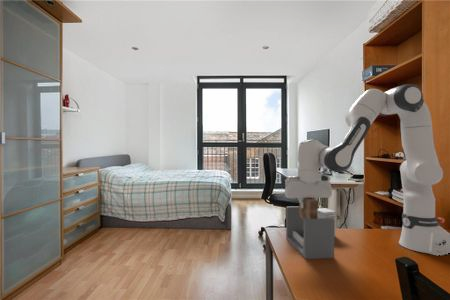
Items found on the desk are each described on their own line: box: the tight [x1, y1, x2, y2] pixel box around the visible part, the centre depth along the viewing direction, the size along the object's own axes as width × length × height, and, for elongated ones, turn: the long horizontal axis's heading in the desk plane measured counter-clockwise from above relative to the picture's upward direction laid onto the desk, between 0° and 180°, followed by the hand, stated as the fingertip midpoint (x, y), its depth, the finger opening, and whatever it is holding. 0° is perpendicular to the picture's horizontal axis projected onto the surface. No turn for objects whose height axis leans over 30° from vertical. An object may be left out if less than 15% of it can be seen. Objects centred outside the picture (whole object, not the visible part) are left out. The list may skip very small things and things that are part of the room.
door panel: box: [298, 198, 319, 220], centre depth 109 cm, size 12×3×10 cm, turn 5°
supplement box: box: [317, 207, 337, 238], centre depth 124 cm, size 7×7×13 cm
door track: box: [285, 205, 335, 260], centre depth 109 cm, size 22×12×16 cm, turn 5°
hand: (307, 207), depth 109 cm, fingers closed on door panel, 3 cm apart
